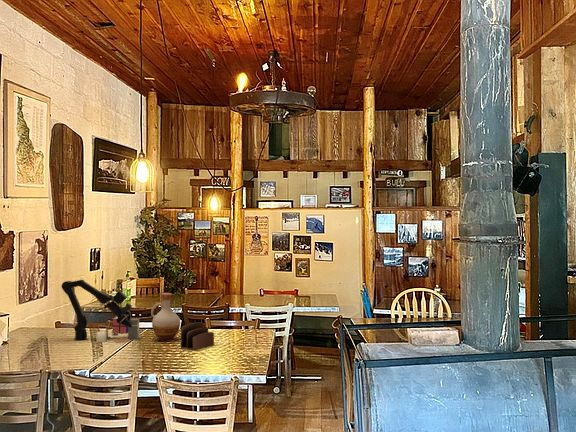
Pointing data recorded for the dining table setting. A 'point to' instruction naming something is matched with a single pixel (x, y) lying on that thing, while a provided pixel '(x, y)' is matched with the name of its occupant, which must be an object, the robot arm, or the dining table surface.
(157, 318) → the jug
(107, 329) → the balance
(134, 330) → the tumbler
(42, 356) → the dining table surface
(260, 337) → the dining table surface
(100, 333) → the beige square piece
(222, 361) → the dining table surface
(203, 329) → the letter holder
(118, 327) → the puzzle cube
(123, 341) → the tile
